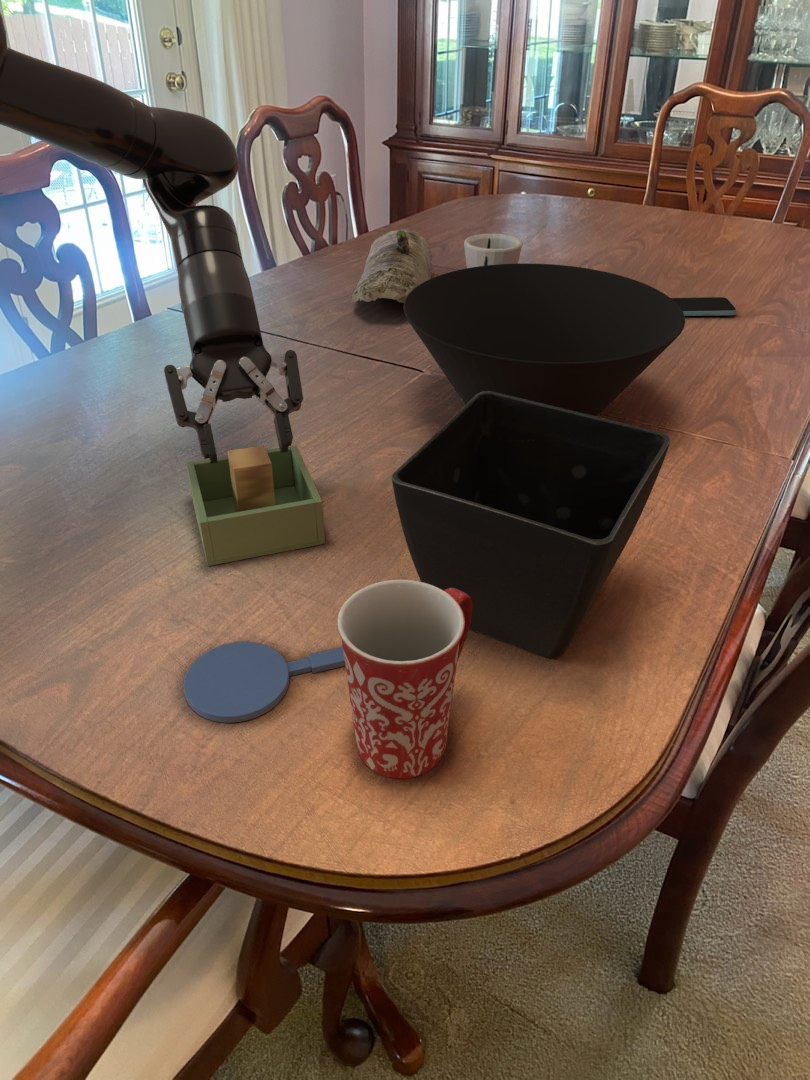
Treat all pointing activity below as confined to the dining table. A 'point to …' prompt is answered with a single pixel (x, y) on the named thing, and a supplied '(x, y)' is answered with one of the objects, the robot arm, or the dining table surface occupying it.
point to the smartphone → (705, 306)
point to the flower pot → (525, 512)
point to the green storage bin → (256, 510)
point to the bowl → (542, 331)
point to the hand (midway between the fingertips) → (249, 455)
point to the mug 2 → (491, 250)
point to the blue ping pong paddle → (247, 679)
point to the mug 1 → (402, 671)
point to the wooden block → (251, 478)
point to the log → (395, 266)
